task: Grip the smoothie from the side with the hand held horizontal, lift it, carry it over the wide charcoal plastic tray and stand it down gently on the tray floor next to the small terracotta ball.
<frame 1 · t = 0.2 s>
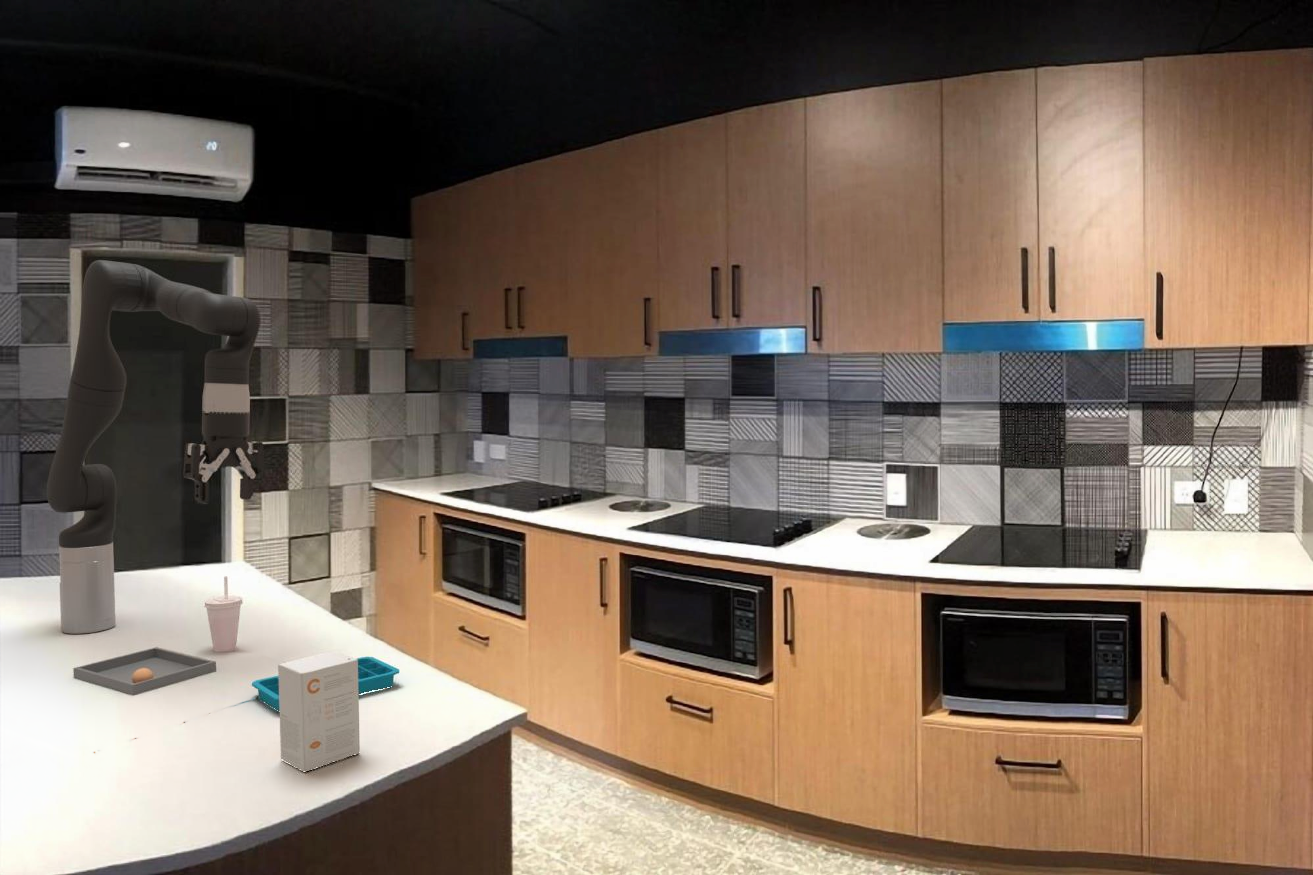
hand: (224, 501, 159), 29 cm above the counter, tool pointing down, fingers open, 8 cm apart
tray: (145, 676, 152), on the counter
ice cube tray: (327, 695, 144), on the counter
smoothie: (224, 652, 167), on the counter
small box: (320, 759, 119), on the counter
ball: (143, 686, 145), resting on tray
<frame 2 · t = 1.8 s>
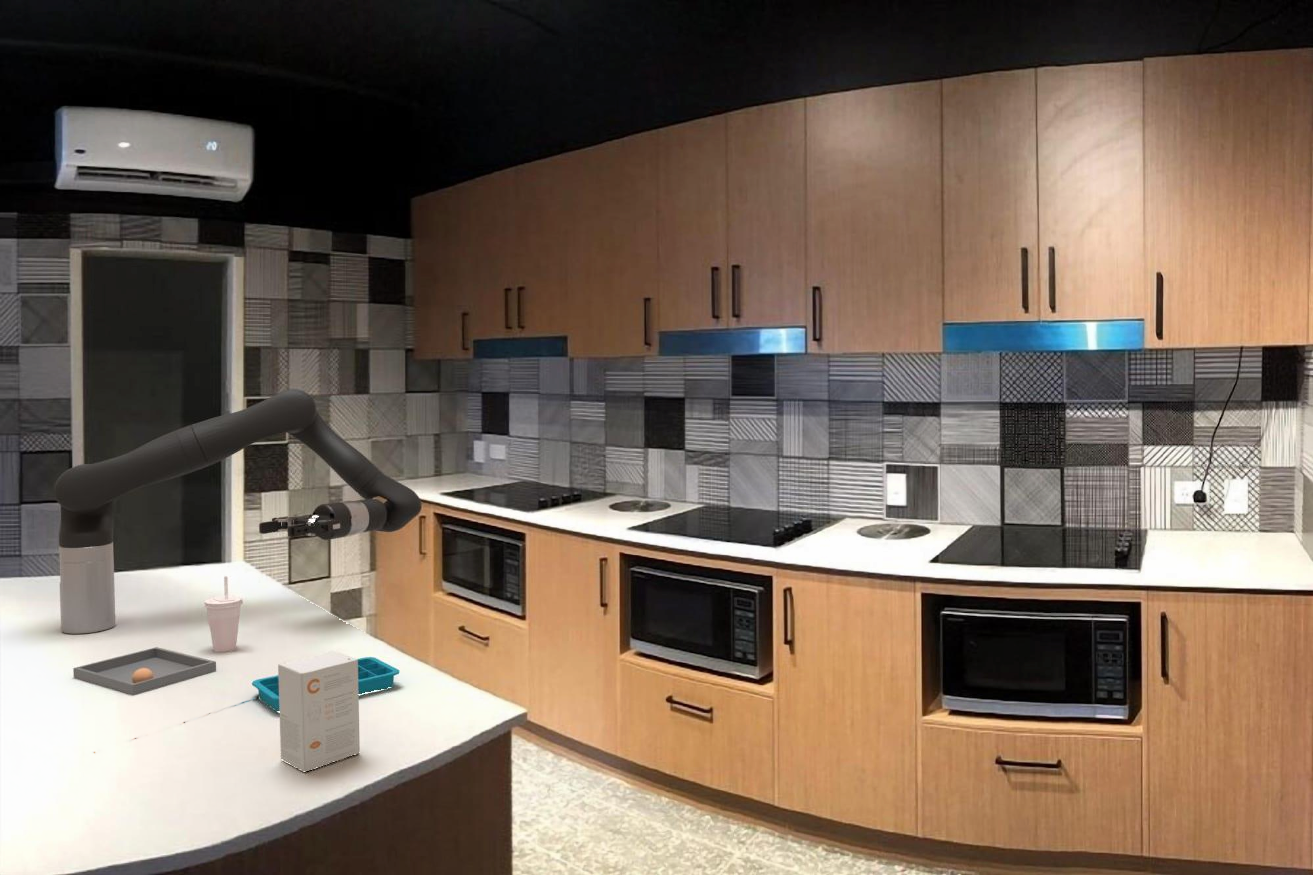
hand: (274, 530, 175), 21 cm above the counter, tool horizontal, fingers open, 8 cm apart
nothing on the counter moved.
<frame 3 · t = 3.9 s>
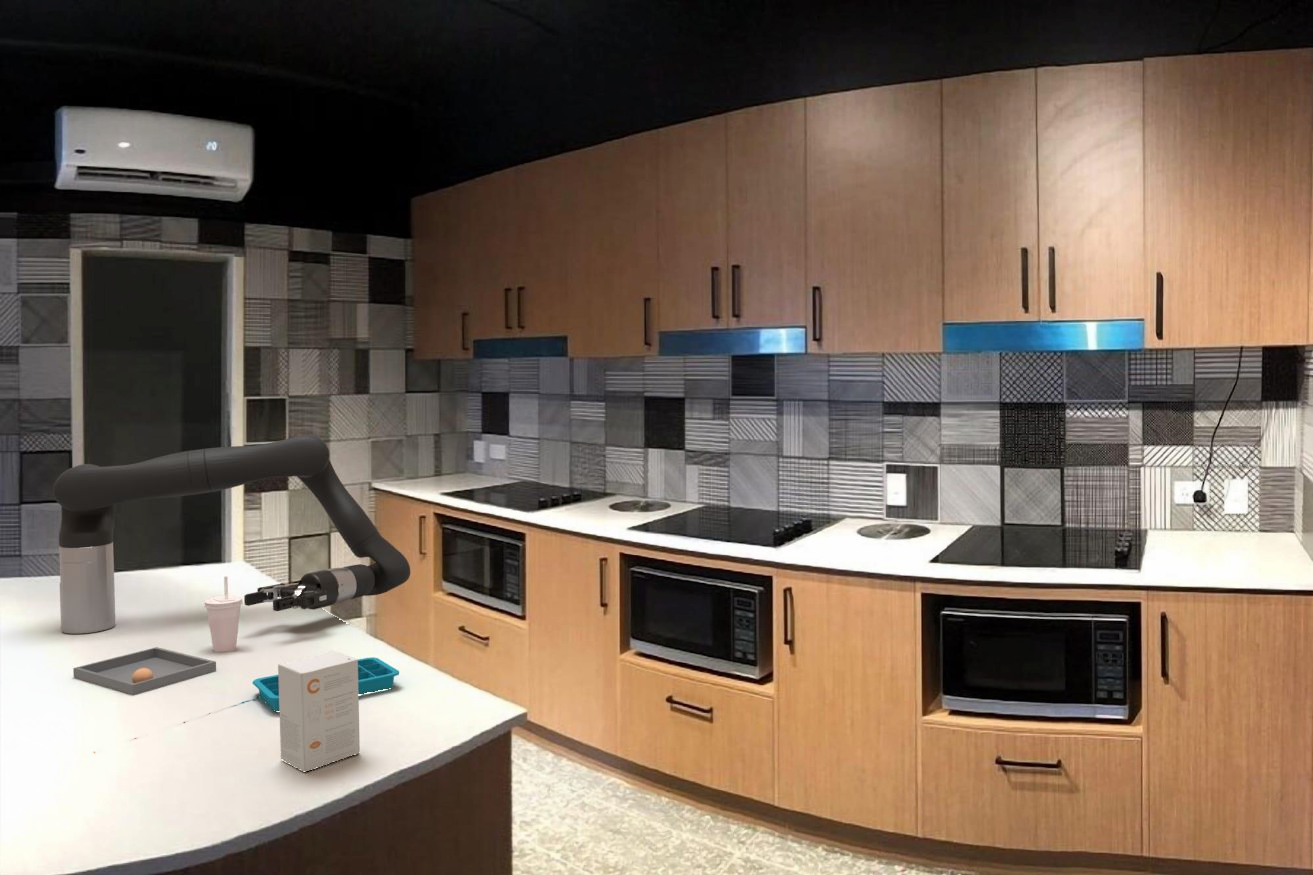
hand: (259, 603, 173), 7 cm above the counter, tool horizontal, fingers open, 8 cm apart
nothing on the counter moved.
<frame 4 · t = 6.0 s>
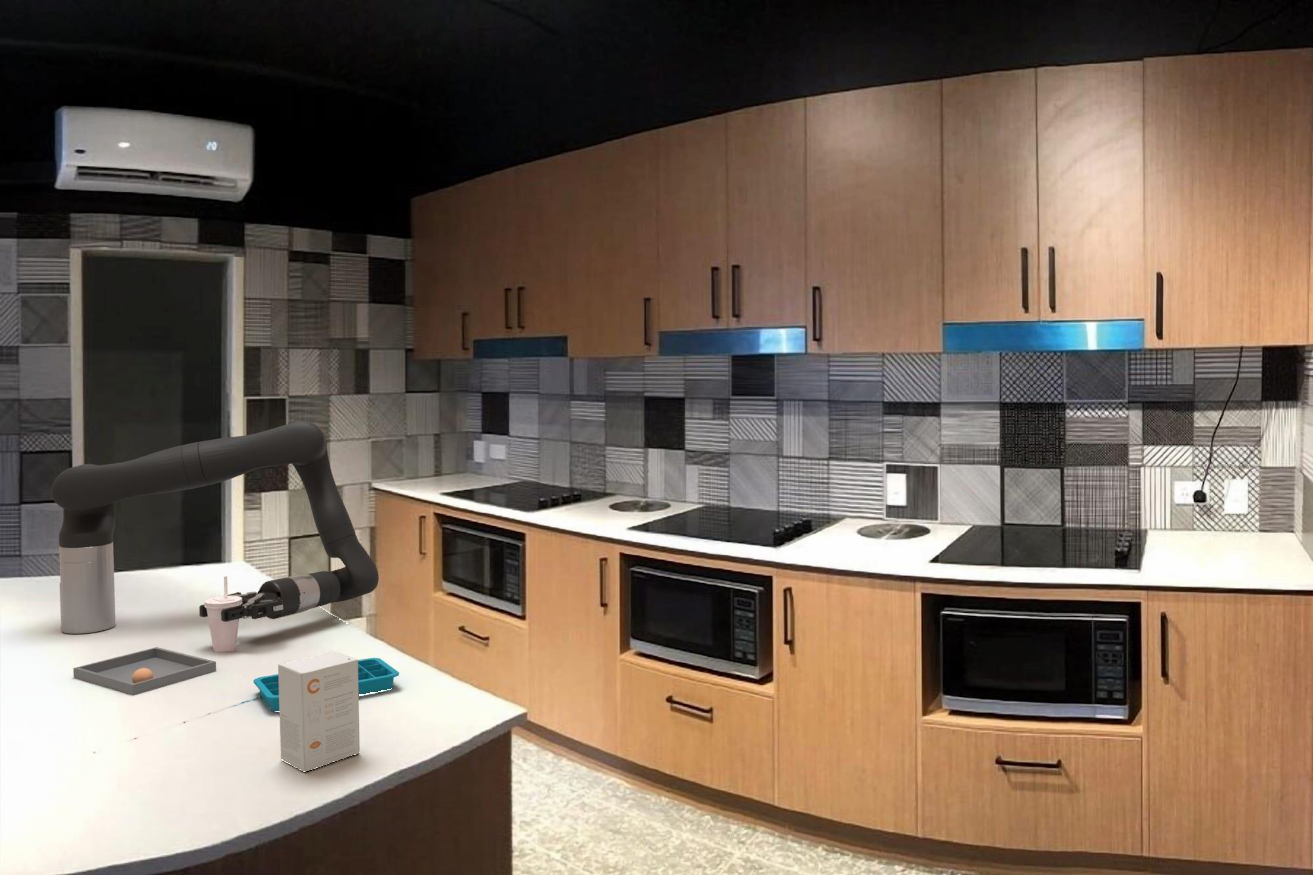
hand: (211, 613, 164), 8 cm above the counter, tool horizontal, fingers closed on smoothie, 6 cm apart
smoothie: (224, 651, 167), on the counter, touching gripper
everything else where it was.
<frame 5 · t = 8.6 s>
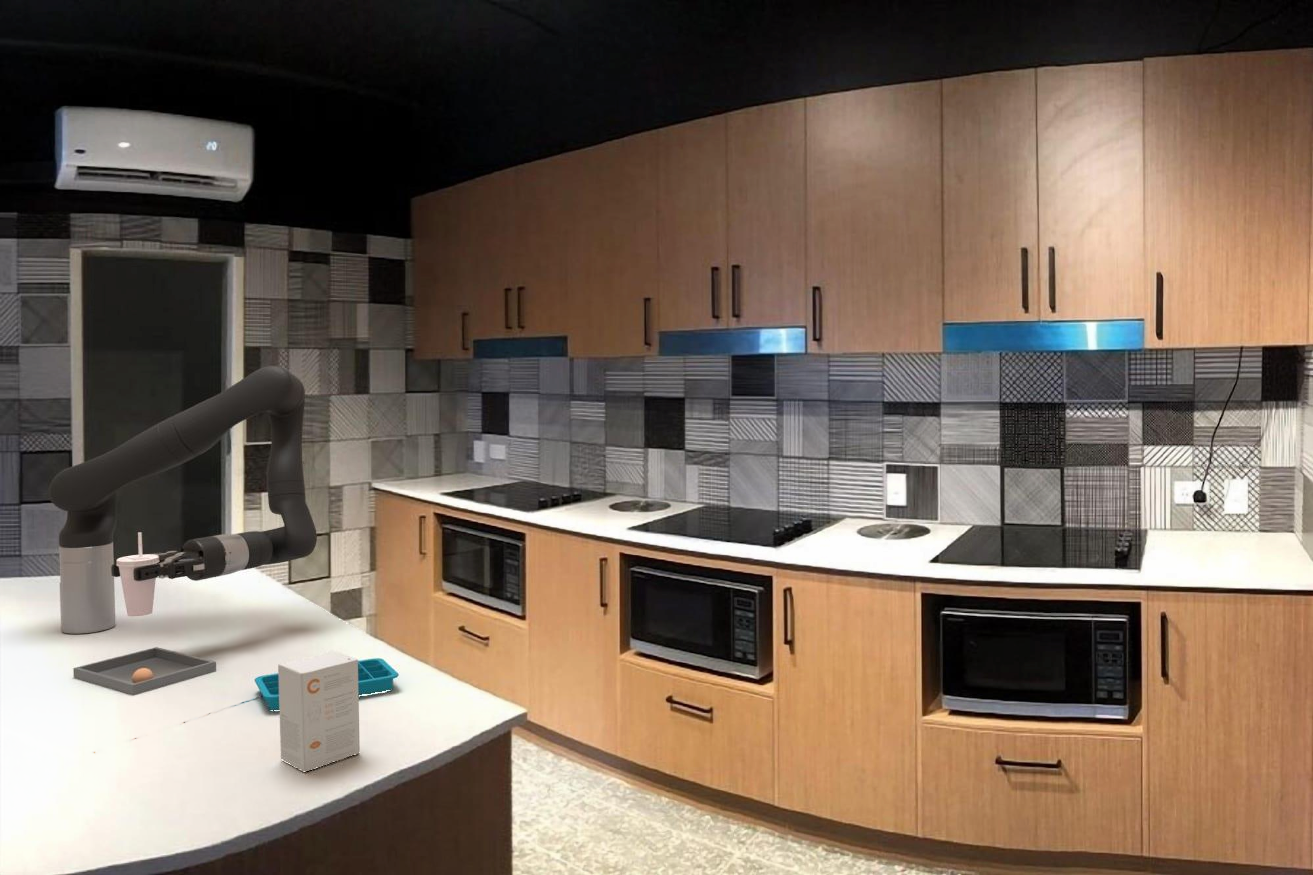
hand: (124, 572, 151), 18 cm above the counter, tool horizontal, fingers closed on smoothie, 6 cm apart
smoothie: (139, 614, 154), point 10 cm above the counter, touching gripper
when the fingers open (8 cm above the counter, at t = 10.9 s): smoothie moves 1 cm, resting on tray.
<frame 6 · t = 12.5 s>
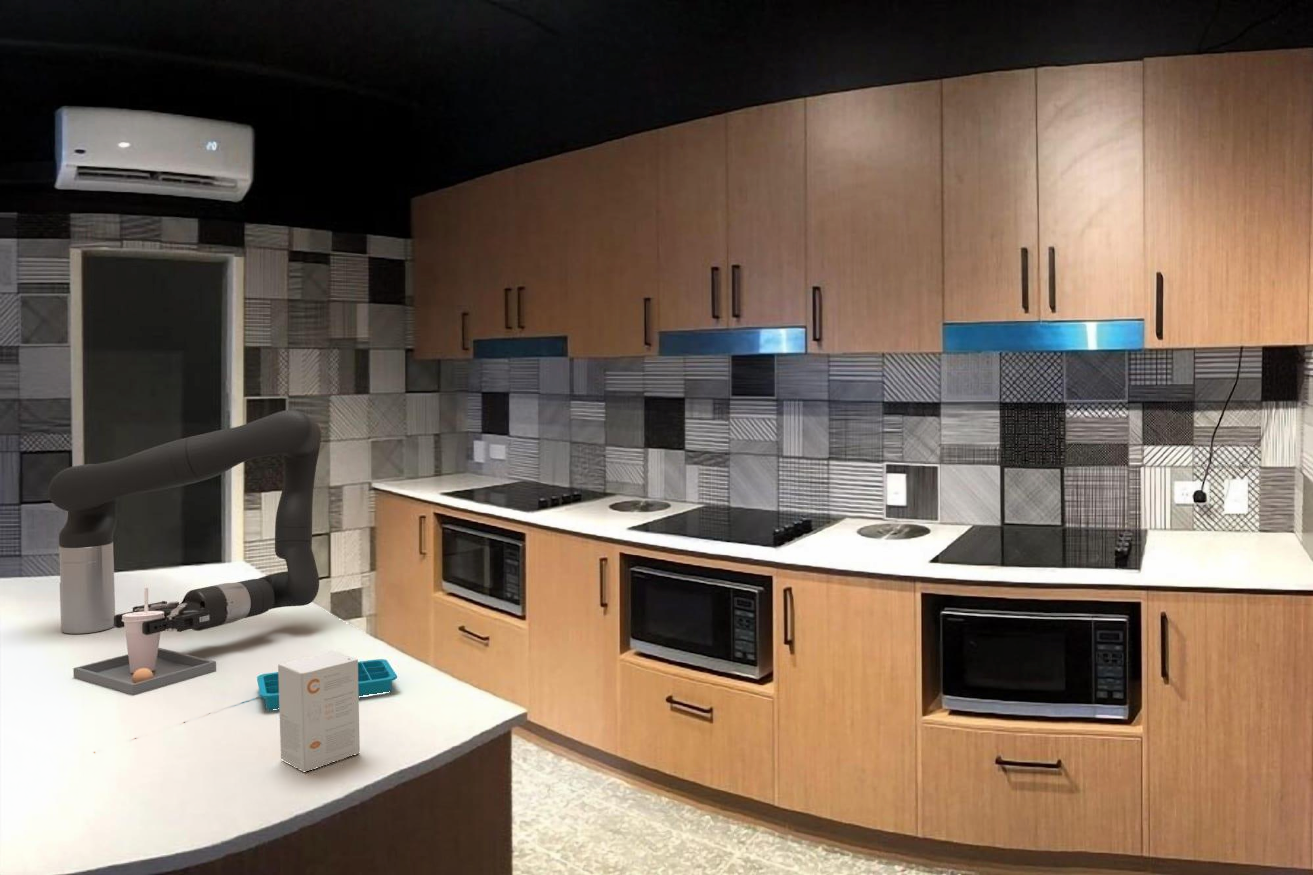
hand: (128, 625, 152), 9 cm above the counter, tool horizontal, fingers open, 8 cm apart
smoothie: (142, 671, 153), resting on tray, touching gripper
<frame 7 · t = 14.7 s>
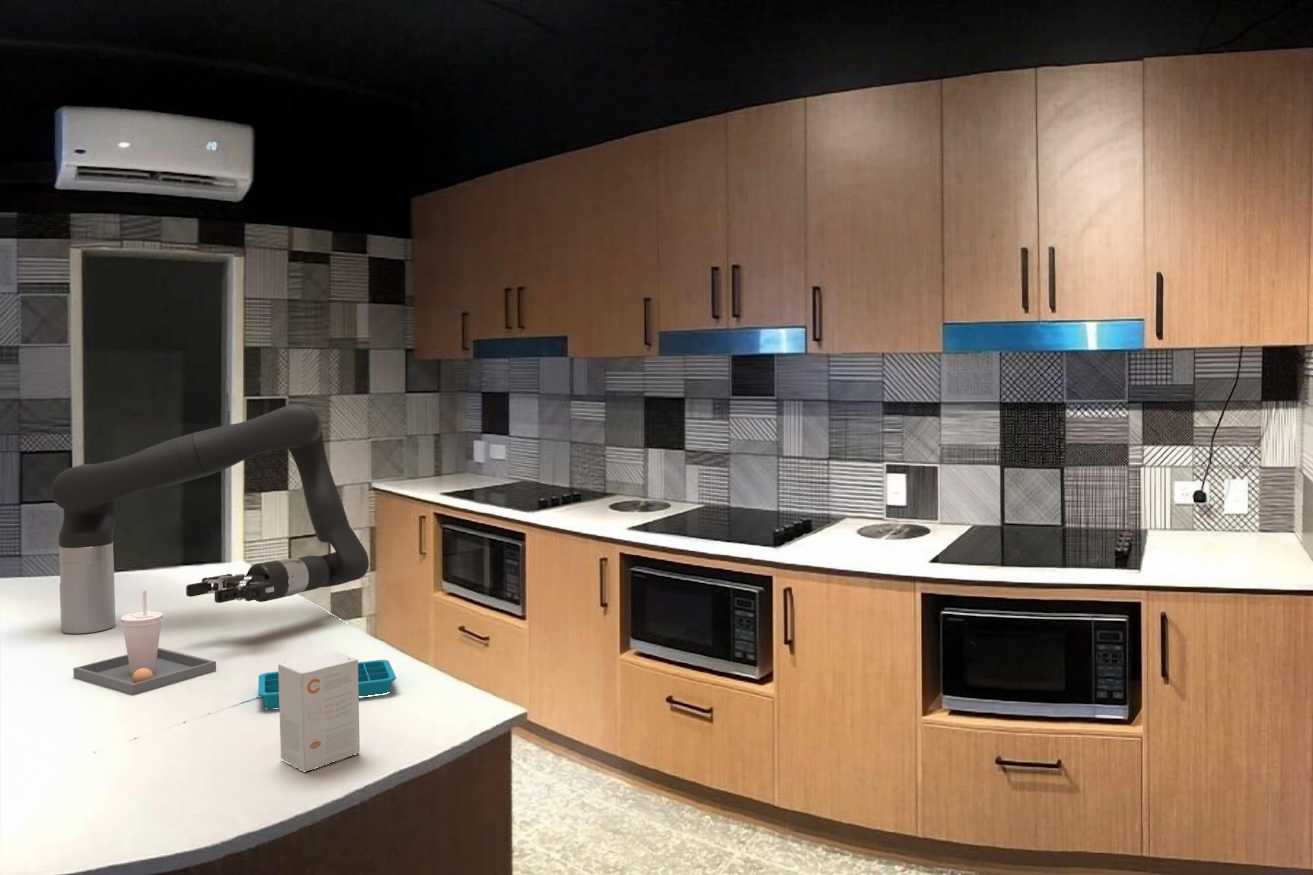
hand: (201, 594, 164), 11 cm above the counter, tool horizontal, fingers open, 8 cm apart
smoothie: (142, 672, 153), resting on tray
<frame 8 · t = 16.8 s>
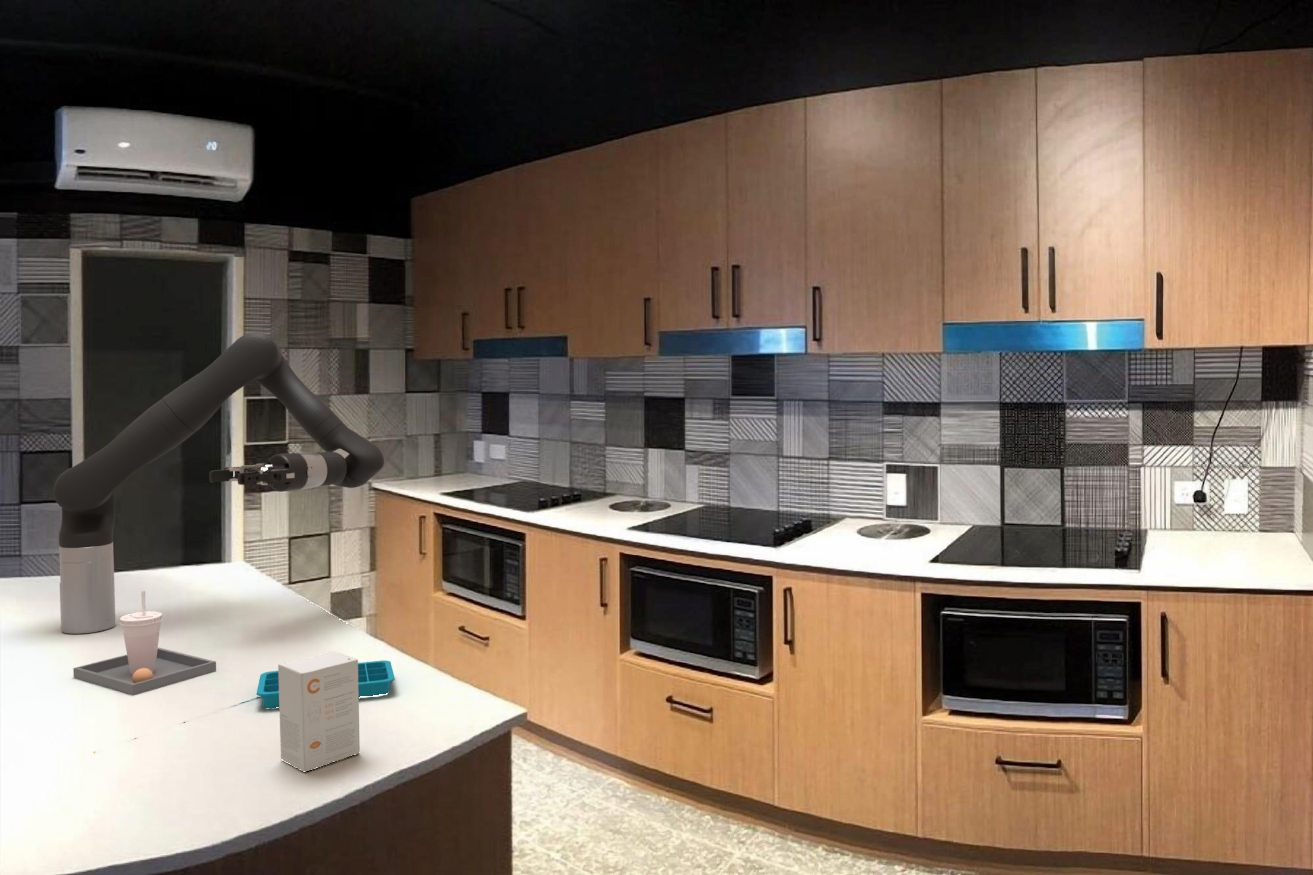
hand: (224, 477, 168), 32 cm above the counter, tool horizontal, fingers open, 8 cm apart
at the end: smoothie inside the target area on the tray (1.6 cm from its centre), point 0.2 cm above the tray's base; smoothie tilted 0°; the gripper is holding nothing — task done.
